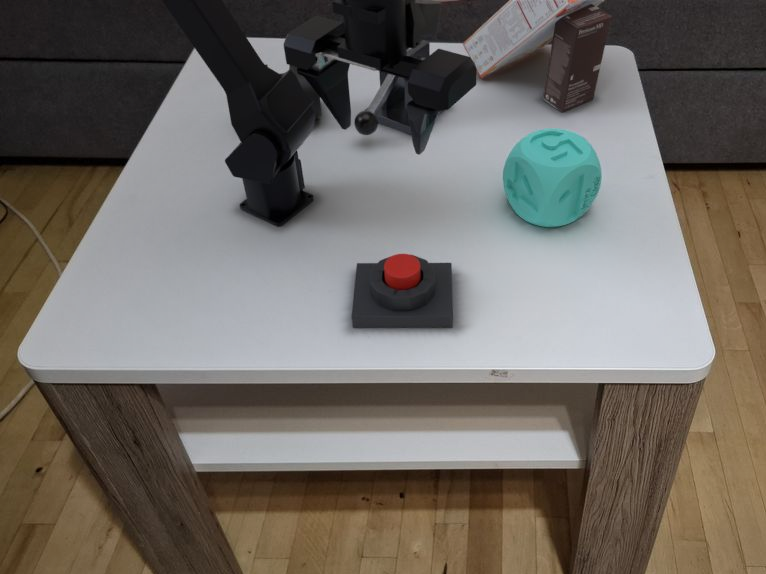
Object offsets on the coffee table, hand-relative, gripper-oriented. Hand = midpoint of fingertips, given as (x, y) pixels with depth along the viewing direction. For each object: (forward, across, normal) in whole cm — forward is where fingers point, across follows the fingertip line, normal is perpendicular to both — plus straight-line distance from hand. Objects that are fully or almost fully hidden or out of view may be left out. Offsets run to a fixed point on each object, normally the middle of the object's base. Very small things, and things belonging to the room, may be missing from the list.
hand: (382, 139), depth 77 cm
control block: (+12, -8, +9) cm, 17 cm away
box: (+12, -6, -36) cm, 38 cm away
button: (+8, -8, +9) cm, 15 cm away
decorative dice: (+12, -14, -13) cm, 22 cm away
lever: (+7, +12, -18) cm, 23 cm away
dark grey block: (+12, +25, -12) cm, 30 cm away
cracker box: (+10, +8, -42) cm, 44 cm away
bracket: (+12, +12, -22) cm, 27 cm away
